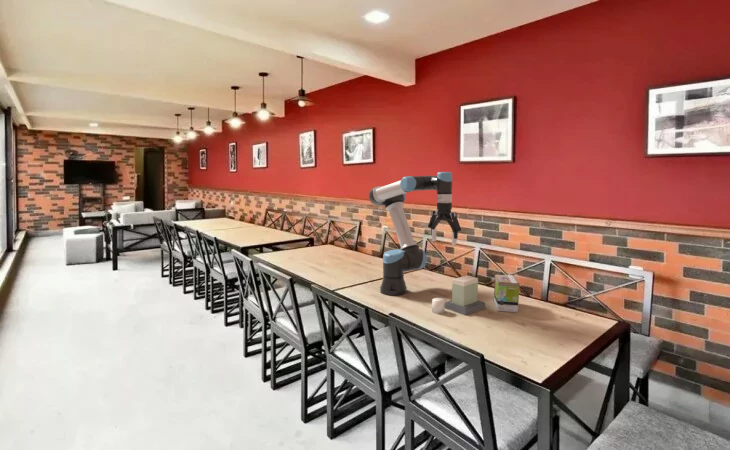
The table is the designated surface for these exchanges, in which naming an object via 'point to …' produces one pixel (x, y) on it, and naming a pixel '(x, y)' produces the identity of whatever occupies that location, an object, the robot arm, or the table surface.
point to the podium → (465, 307)
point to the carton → (464, 290)
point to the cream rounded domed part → (438, 305)
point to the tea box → (506, 293)
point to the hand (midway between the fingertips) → (443, 243)
